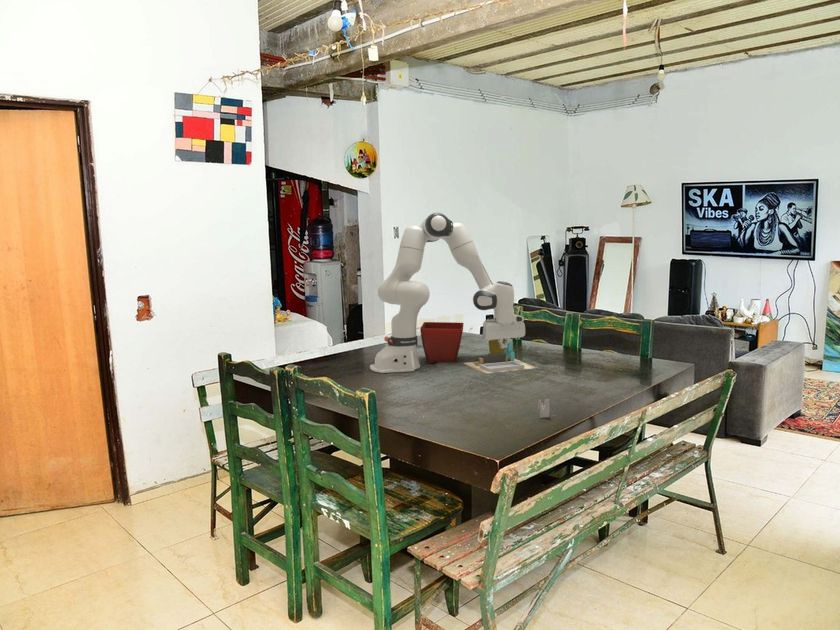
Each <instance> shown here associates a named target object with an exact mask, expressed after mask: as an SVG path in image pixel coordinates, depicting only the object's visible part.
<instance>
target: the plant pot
mask: <svg viewBox="0 0 840 630" xmlns="http://www.w3.org/2000/svg"><path fill="white" fill-rule="evenodd" d="M419 329H420V330H419V331H420V337H421V342H422V347H423V352H424V355H425V359H426V362H427V363H428V364H439V362H449V363H450V362H454V363H455V362H457V360H458V359H457V358H458V355H459V352H460V351H459V350H460V347H461V342H462V337H463V332H464V322H454V321H453V322H452V321H450V322H447V321H446V322H445V321H443V322H442V321H441V322H439V321H424V322H423V323H422V325H421V326H420V328H419Z"/></svg>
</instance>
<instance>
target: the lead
mask: <svg viewBox="0 0 840 630" xmlns="http://www.w3.org/2000/svg"><path fill="white" fill-rule="evenodd" d="M478 361H479V363H481V364H489V363H498V362H506V361H508V356H506V354H503V353H500V354H490V353H489V354H482V355H480V357H479V358H478Z"/></svg>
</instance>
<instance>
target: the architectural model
mask: <svg viewBox="0 0 840 630" xmlns="http://www.w3.org/2000/svg"><path fill="white" fill-rule="evenodd" d="M537 400H538V401H537V410H539V418H541V419H542V418H543V419H544V418H550V398H546V399H545V398H544V404H543V402H542V400H541V399H537Z"/></svg>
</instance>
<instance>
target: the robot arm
mask: <svg viewBox="0 0 840 630" xmlns="http://www.w3.org/2000/svg"><path fill="white" fill-rule="evenodd" d="M441 239H442V240H443V241H444V242H445V243H446V244H447V245H448V248H449V250H450V253H451V255H452V257H453V259H454V260H455V262H456V264H458V265H459V266H461V267H462V268H465V269H467V270H468V271H469V273H471V274H472V277H473V279H474V281H475V282H476V285H477V287H478V289H479V290H477V291H476V292H475V293H474V294H473V297H472V302H473V305H474V307H475V308H476V309H477V310H479V311H488V310H493V318H488V319H485V320H484V321H483V323H482V326H483V327H482V338H483V340H485V341H489V340H496V339H498V342H499V344H500V348H501V349H504V348H508V343H509V342H510V341H511V339H516V338H524V337H525V336H526V325H525V323H524V321H525V317H524V316H521V315H519V314H516V313H515V310H514V303H515V290H514V286H513V285H512V284H511V283H509V282H507V281H496V282H495V283H493V282H492V280H491V279H490V276H489V273H487V269H486V268H485V266H484V264H483V263H482V261H481V258H480V255H479V252H478V249H477V248H476V245H475V242H474V240H473V238H472V236H471V234H470V232H469V230H468V229H467V228H466V226H465V224H464V223H462V222H453V221H452V220H451V219H449V218H448V217H447V216H446V215H445V214H443V213H442V212H433V213H431V214H429V215H428V216H427V217H426V218H425V219H424V220H423V222H422V223H421V224H420V225H409V226H407V227H406V228H404V231H403V234H402V237H401V241H400V243H399V246H398V247H399V248H398V252H397V258H396V261H395V265H394V267H393V269H392V271H391V273H390V274H389V276H388V277H387V278H386V279H385V280H383V281H381V283H380V284H379V286H378V289H377V295H378V298H379V299H380V301H382V302H384V303H387V304H390V305H398V306H400V308H399V311H398V313H396V314H395V315H394V316H392V318H391V323H390V325H391V335H390V336H389V337H388V336H384V341H385V342H387V345H386V346H385V347H383V348H382V349H381V350H380V351H378V352H377V353H376V355H375V357H374V363H373V364H370V365H369V369H370V370H371V371H372V372H375V373H380V374H385V373H386V374H387V373H401V372H402V373H403V372H404V373H406V372H415V370H418V369H420V368H421V364H420V361H419V356H418V355H419V354H418V345H419V343H418V342H419V341H418V335H417V322H418V316H419V313H420V311H421V309H422V308H423V306H425V305H426V304H427V303H428V301H429V299H430V296H431V295H430V294H431V293H430V288H429V287H428V286H427V284H426V283H423V282H419V281H416V280H411V279H412V277H413V276H414V275H415V274H416V273H419V271H420V270H421V269H422V262H423V258H424V253H425V247H426V244H427V243H434V242H438V241H439V240H441ZM503 339H505V340H506V341H505V343H504V344H503V343H502V341H503Z"/></svg>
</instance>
